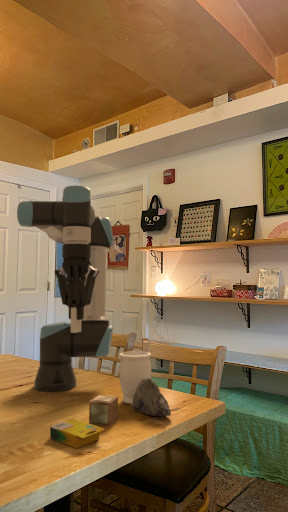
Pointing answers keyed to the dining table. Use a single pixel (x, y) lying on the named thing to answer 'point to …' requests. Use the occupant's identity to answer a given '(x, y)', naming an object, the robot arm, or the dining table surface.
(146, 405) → the mineral rock
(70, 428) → the crayon box
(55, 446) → the dining table surface
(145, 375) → the jar
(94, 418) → the brown cube
